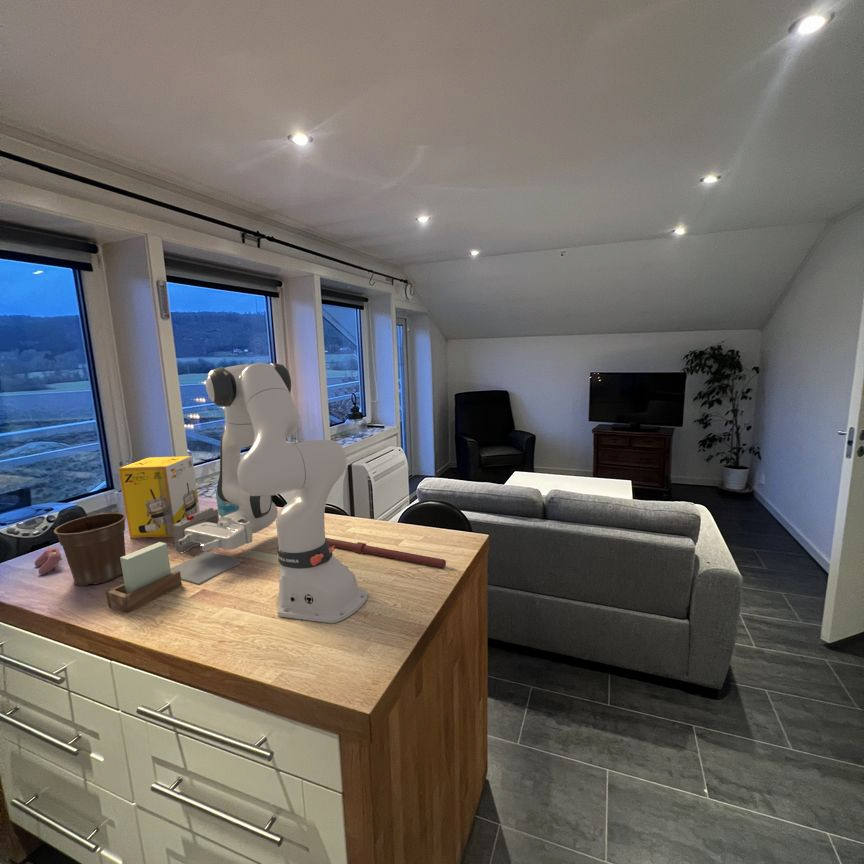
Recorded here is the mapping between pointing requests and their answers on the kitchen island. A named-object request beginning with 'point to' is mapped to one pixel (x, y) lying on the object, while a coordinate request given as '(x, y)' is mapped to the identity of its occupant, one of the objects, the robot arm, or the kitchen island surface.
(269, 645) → the kitchen island surface
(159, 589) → the walnut box
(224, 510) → the teal lettered box
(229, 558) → the grey rubber mat
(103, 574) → the plant pot
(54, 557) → the pink lobed lump
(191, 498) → the packaging box
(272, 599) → the kitchen island surface
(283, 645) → the kitchen island surface
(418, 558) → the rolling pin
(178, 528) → the cassette player
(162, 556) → the cover plate
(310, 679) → the kitchen island surface
